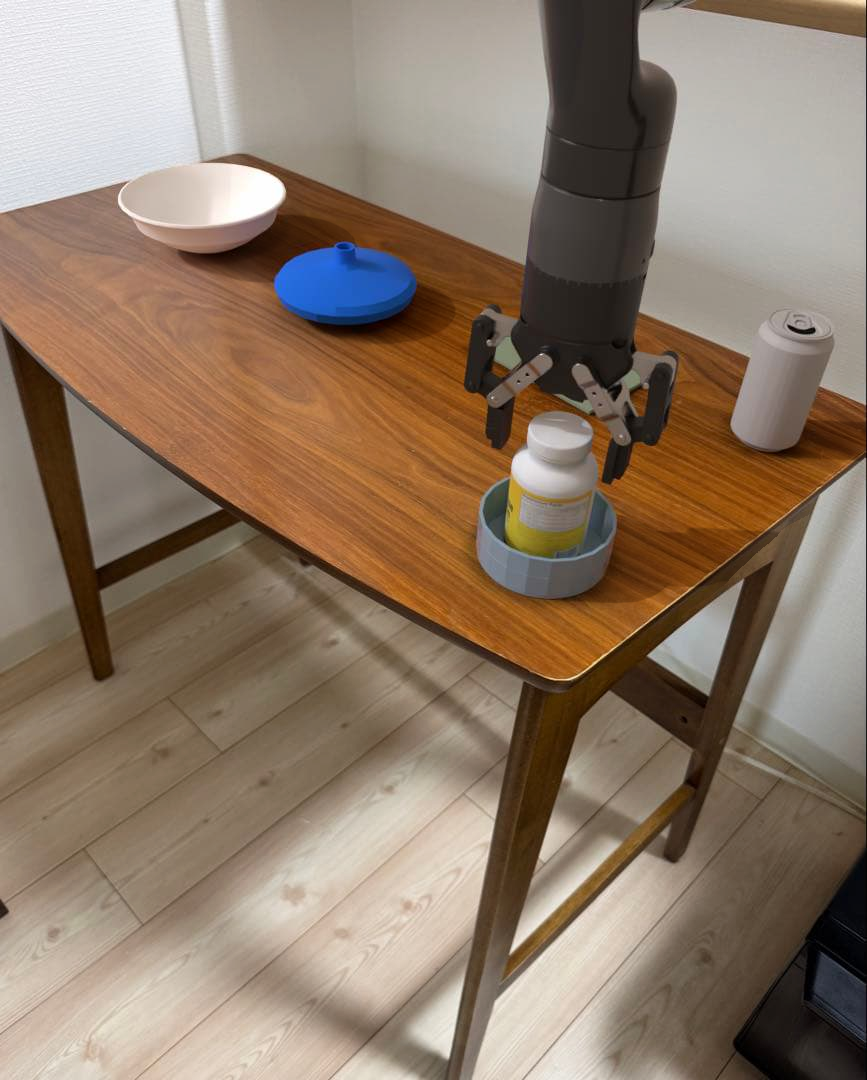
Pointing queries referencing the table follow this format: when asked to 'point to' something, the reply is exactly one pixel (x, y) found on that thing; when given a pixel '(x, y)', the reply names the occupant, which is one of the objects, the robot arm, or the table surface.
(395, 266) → the vase
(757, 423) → the beverage can
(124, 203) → the bowl
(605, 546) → the grey-blue round dish
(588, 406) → the mat
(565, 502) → the pill bottle
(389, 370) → the table surface
